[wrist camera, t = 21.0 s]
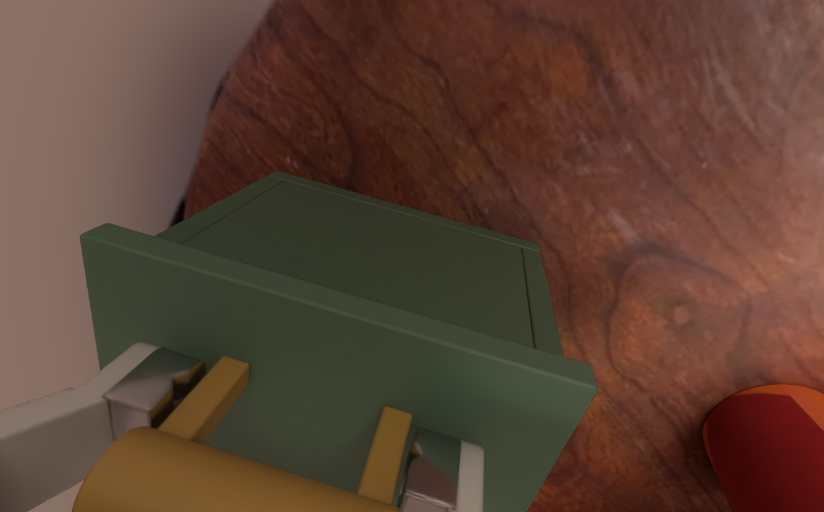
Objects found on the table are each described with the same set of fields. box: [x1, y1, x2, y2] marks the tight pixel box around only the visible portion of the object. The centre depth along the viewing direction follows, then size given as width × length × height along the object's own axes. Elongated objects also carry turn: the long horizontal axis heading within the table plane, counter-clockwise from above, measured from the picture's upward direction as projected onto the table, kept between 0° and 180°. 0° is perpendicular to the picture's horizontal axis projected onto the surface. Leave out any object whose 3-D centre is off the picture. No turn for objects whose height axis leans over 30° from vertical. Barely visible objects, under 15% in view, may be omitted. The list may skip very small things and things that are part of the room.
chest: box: [154, 170, 564, 357], centre depth 17 cm, size 14×12×9 cm
